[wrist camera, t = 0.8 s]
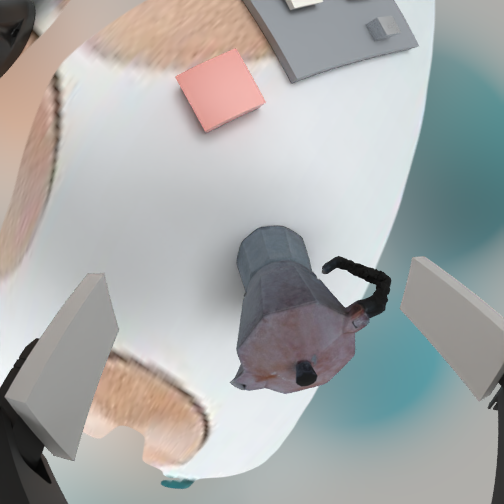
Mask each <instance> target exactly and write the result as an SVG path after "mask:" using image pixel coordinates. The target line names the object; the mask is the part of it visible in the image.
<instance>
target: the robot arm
mask: <svg viewBox="0 0 504 504" xmlns="http://www.w3.org/2000/svg"><path fill="white" fill-rule="evenodd" d="M34 19H35V7H34V4H33V2H32V1H31V0H0V77H2V76H3V75H4V74H5V73H6V72H7V70H8V69H9V68H10V67H11V66H12V64H13V63H14V62H15V60H16V59H17V57H18V56H19V54H20V53H21V51H22V49H23V48H24V46H25V44H26V42H27V40H28V38H29V35H30V33H31V30H32V27H33V24H34ZM400 310H401V311H402V312H403V313H404V314H405V315H406V316H407V317H408V318H409V319H410V320H411V321H412V322H413V324H414V325H415V326H416V327H417V328H418V329H419V330H420V331H421V332H422V334H423V335H424V336H425V337H426V338H427V339H428V340H429V341H430V343H431V344H432V345H433V346H434V347H435V348H436V350H437V351H438V352H439V353H440V354H441V355H442V357H443V358H444V359H445V360H446V361H447V363H448V364H449V365H450V366H451V367H452V368H453V370H454V371H455V372H456V373H457V375H458V376H459V377H460V378H461V380H463V382H464V383H465V384H466V386H467V387H468V388H469V390H470V391H471V392H472V393H473V395H474V396H475V397H476V398H477V400H478V401H481V400H482V399H484V398H485V397H487V396H489V395H490V394H491V393H492V391H493V390H494V388H495V387H496V385H497V384H498V383H499V384H500V385H501V388H500V389H499V391H498V392H497V394H496V395H495V396H494V398H493V400H492V401H491V402H490V403H489V406H488V409H490V408H491V407H492V406H493V404H494V403H495V402H497V403H496V405H495V406H494V408H493V410H498V433H499V434H498V456H497V468H496V477H495V485H494V492H493V498H492V503H491V504H504V317H502V316H501V315H500V314H499V313H498V312H497V311H495V310H494V309H493V308H492V307H490V306H489V305H488V304H487V303H486V302H484V301H483V300H482V299H481V298H479V297H478V296H477V295H476V294H474V293H473V292H472V291H471V290H469V289H468V288H467V287H465V286H464V285H463V284H461V283H460V282H459V281H458V280H456V279H455V278H453V277H452V276H451V275H449V274H448V273H447V272H445V271H444V270H443V269H441V268H440V267H439V266H437V265H436V264H434V263H433V262H431V261H430V260H429V259H427V258H426V257H424V256H423V257H413V258H412V263H411V266H410V271H409V276H408V279H407V283H406V287H405V291H404V295H403V299H402V302H401V306H400ZM118 331H119V328H118V324H117V321H116V318H115V314H114V310H113V307H112V303H111V299H110V295H109V291H108V287H107V283H106V279H105V275H104V273H92V274H87V275H86V277H85V278H84V279H83V280H82V282H81V283H80V284H79V285H78V287H77V288H76V289H75V290H74V292H73V293H72V294H71V296H70V297H69V298H68V300H67V301H66V302H65V304H64V305H63V306H62V308H61V309H60V310H59V312H58V313H57V315H56V316H55V317H54V319H53V320H52V322H51V323H50V324H49V326H48V327H47V329H46V330H45V332H44V333H43V335H42V336H41V338H40V339H38V338H36V339H35V340H33V341H32V342H31V343H30V344H29V345H27V346H26V347H25V349H24V350H23V352H22V353H21V355H20V356H19V360H18V359H17V361H16V363H15V364H14V368H12V369H11V371H10V372H9V374H8V375H7V377H6V379H5V381H4V382H3V384H2V386H1V387H0V504H68V503H67V501H66V499H65V497H64V495H63V493H62V491H61V490H60V487H59V485H58V483H57V481H56V479H55V477H54V475H53V473H52V471H51V469H50V466H49V464H48V462H47V459H46V458H45V456H44V455H43V454H42V451H43V448H44V446H45V447H46V448H47V449H48V450H49V451H50V452H51V453H52V454H53V455H54V456H57V457H61V458H64V459H68V460H72V461H74V460H75V456H76V453H77V449H78V445H79V442H80V438H81V435H82V432H83V428H84V425H85V422H86V419H87V415H88V412H89V409H90V406H91V403H92V400H93V397H94V394H95V391H96V389H97V386H98V383H99V380H100V377H101V375H102V372H103V369H104V367H105V364H106V361H107V359H108V356H109V353H110V351H111V348H112V346H113V343H114V341H115V338H116V336H117V334H118Z"/></svg>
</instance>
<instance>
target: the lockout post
mask: <svg viewBox="0 0 504 504" xmlns="http://www.w3.org/2000/svg"><path fill="white" fill-rule="evenodd" d="M366 27H367V29H368V30H369V32H370V34H371V36H372V38H373V40H374V41H378V40H383V39H388V38H391V37H393V36H395V35H397V34H400V33H401V31H400V29H399V27H398V25H397V24H396V22H395V20H394V18H393V17H392V16H385V17H377V18H376V19H374V20H372V21H371V22H369V23H368V24H366Z"/></svg>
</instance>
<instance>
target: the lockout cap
mask: <svg viewBox="0 0 504 504" xmlns="http://www.w3.org/2000/svg"><path fill="white" fill-rule="evenodd" d="M175 78H176V79H177V81H178V83H179V85H180V87H181V88H182V90H183V92H184V94H185V96H186V98H187V99H188V101H189V103H190V105H191V107H192V109H193V110H194V112H195V114H196V116H197V118H198V120H199V121H200V123H201V125H202V127H203V129H204V131H205V132H206V133H208V132H210V131H212V130H214V129H216V128H218V127H220V126H222V125H224V124H226V123H228V122H230V121H232V120H234V119H236V118H238V117H240V116H242V115H244V114H247V113H249V112H251V111H253V110H255V109H258V108H259V107H261V106H262V105H263V104H264V103H266V102H265V100H264V98H263V96H262V94H261V92H260V90H259V88H258V86H257V85H256V83H255V81H254V79H253V77H252V75H251V74H250V72H249V70H248V68H247V66H246V65H245V63H244V61H243V59H242V58H241V56H240V54H239V52H238V51H237V49H236V48H235V49H233V50H230V51H228V52H226V53H223V54H221V55H219V56H216V57H214V58H212V59H210V60H208V61H205V62H203V63H201V64H199V65H197V66H195V67H193V68H191V69H189V70H187V71H185V72H183V73H181V74H179V75H177V76H176V77H175Z"/></svg>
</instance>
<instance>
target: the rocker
mask: <svg viewBox="0 0 504 504" xmlns="http://www.w3.org/2000/svg"><path fill="white" fill-rule="evenodd" d="M285 1H286V3H287V5H288V7H289V9H290V10H294V9H298V8H302V7H306V6H310V5H315V4H319V3H322V2H323V0H285Z"/></svg>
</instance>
